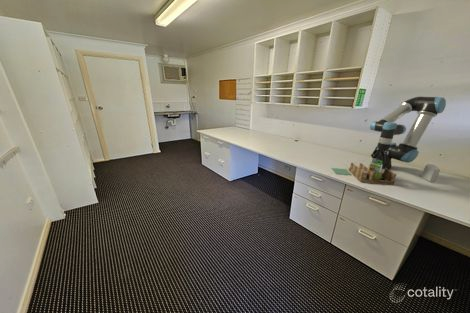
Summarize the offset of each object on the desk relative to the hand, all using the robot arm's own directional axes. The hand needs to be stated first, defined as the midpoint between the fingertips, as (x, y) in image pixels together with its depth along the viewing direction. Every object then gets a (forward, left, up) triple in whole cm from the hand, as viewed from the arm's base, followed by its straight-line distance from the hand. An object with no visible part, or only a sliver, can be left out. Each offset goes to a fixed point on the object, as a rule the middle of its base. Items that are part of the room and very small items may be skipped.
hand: (376, 169), depth 145 cm
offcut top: (+3, -11, -4) cm, 12 cm away
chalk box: (0, 0, -8) cm, 8 cm away
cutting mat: (-7, -22, -8) cm, 24 cm away
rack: (0, -3, -8) cm, 8 cm away
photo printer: (-4, +41, -8) cm, 42 cm away
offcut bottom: (+3, -11, -8) cm, 14 cm away
